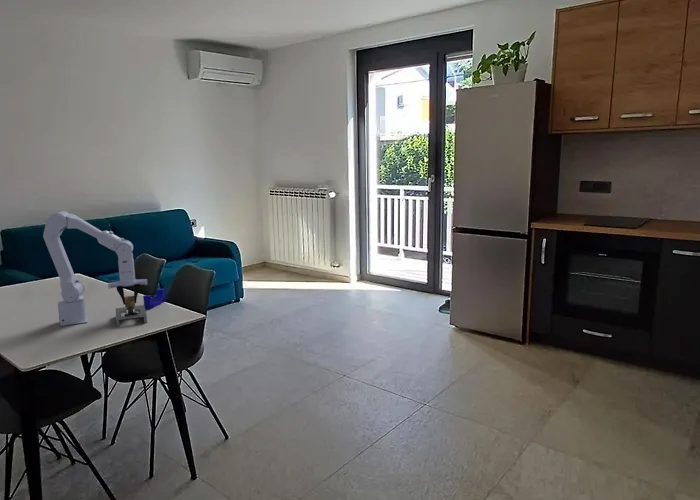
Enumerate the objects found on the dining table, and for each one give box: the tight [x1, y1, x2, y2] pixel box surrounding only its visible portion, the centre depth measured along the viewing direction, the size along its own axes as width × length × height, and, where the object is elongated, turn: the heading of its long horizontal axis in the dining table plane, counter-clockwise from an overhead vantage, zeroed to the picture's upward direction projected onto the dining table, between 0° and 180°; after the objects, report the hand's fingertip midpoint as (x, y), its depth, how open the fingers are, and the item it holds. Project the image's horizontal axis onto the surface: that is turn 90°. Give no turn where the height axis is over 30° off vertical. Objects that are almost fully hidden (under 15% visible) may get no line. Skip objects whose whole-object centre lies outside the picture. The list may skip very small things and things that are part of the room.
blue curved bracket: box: [142, 288, 166, 310], centre depth 223 cm, size 12×4×6 cm, turn 170°
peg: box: [123, 295, 138, 316], centre depth 207 cm, size 5×5×8 cm
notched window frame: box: [115, 304, 148, 328], centre depth 204 cm, size 11×14×3 cm
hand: (129, 303), depth 207 cm, fingers closed on peg, 3 cm apart
